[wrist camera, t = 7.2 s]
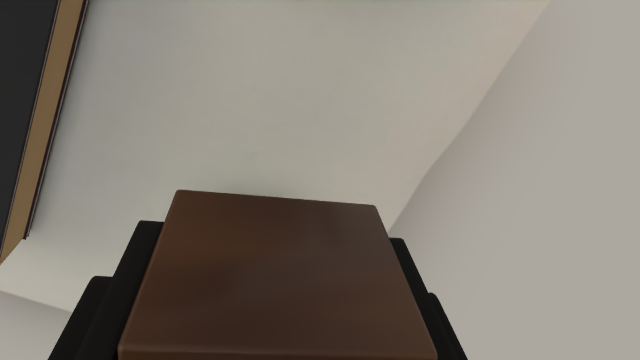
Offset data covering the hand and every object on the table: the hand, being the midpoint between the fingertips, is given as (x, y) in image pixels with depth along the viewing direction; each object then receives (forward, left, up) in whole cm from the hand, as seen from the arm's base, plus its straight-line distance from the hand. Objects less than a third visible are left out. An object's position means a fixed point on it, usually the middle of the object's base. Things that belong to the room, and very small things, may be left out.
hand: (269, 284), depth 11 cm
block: (0, 0, 0) cm, 0 cm away
